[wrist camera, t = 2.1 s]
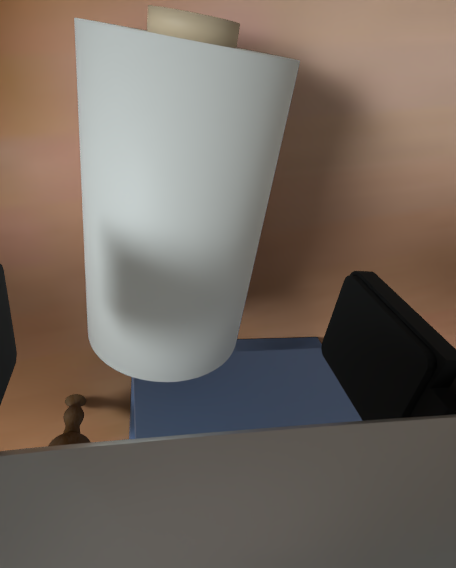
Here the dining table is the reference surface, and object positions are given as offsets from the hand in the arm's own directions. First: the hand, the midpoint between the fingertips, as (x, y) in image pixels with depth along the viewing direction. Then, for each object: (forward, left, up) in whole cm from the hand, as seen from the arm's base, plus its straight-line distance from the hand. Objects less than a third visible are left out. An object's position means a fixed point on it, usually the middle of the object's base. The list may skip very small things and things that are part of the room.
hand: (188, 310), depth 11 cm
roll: (-1, -1, -8) cm, 8 cm away
